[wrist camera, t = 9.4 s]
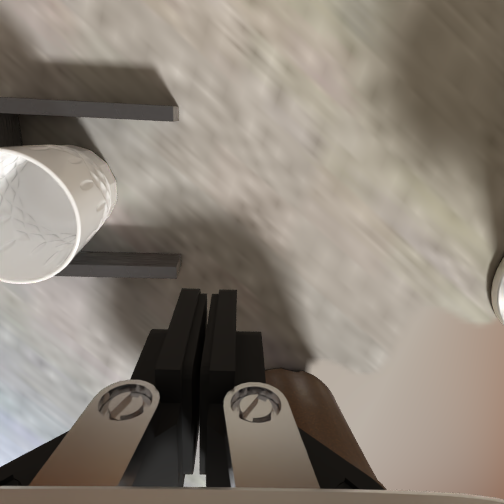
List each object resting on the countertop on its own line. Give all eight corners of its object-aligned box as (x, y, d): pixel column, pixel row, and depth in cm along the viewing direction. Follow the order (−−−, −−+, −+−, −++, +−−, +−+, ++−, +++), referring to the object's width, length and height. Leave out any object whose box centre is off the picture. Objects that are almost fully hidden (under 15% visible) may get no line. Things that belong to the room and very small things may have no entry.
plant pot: (287, 316, 36) (328, 464, 21) (387, 411, 40) (480, 589, 25) (169, 415, 39) (130, 605, 24) (274, 492, 44) (297, 693, 29)
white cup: (18, 133, 29) (-83, 143, 20) (123, 140, 30) (73, 152, 20) (31, 232, 32) (-52, 281, 22) (127, 236, 32) (86, 286, 23)
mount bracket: (178, 106, 29) (172, 106, 26) (181, 264, 33) (176, 280, 30) (0, 97, 28) (-30, 95, 25) (27, 260, 33) (4, 276, 29)
